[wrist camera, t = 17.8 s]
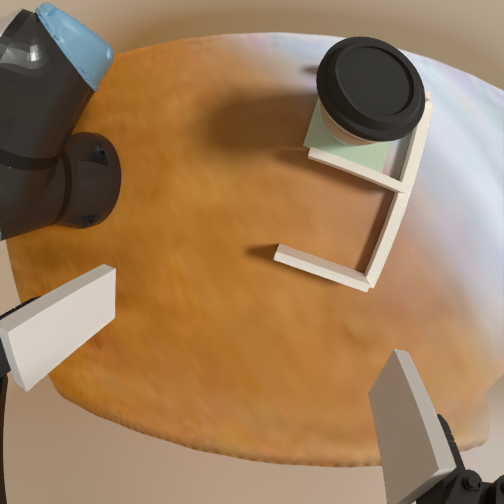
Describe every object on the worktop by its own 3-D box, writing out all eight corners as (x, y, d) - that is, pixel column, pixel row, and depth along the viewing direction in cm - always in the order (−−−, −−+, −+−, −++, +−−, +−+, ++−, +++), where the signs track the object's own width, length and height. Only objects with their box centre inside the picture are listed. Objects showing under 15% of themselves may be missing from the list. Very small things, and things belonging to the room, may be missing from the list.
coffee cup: (367, 77, 28) (401, 20, 13) (396, 143, 29) (453, 123, 15) (301, 97, 30) (296, 41, 16) (329, 164, 31) (348, 152, 17)
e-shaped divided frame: (277, 250, 35) (273, 259, 32) (336, 66, 28) (339, 53, 24) (371, 284, 34) (377, 296, 30) (429, 105, 27) (441, 98, 23)
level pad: (302, 146, 32) (302, 145, 31) (326, 71, 29) (326, 71, 28) (380, 175, 31) (380, 174, 31) (400, 100, 28) (401, 99, 27)
